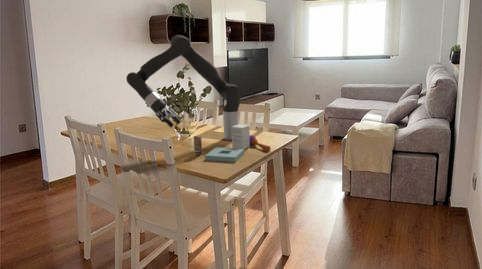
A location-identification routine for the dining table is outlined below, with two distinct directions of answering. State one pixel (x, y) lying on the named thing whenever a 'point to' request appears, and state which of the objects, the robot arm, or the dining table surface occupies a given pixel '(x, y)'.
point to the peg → (197, 145)
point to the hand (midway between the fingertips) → (176, 124)
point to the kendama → (254, 142)
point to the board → (224, 154)
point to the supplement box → (240, 136)
